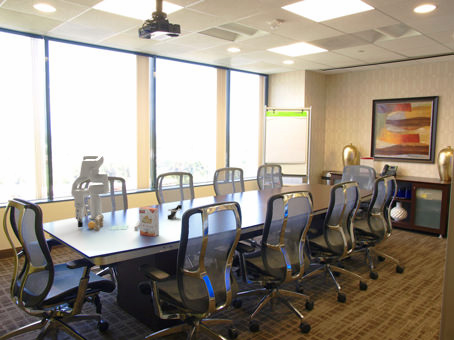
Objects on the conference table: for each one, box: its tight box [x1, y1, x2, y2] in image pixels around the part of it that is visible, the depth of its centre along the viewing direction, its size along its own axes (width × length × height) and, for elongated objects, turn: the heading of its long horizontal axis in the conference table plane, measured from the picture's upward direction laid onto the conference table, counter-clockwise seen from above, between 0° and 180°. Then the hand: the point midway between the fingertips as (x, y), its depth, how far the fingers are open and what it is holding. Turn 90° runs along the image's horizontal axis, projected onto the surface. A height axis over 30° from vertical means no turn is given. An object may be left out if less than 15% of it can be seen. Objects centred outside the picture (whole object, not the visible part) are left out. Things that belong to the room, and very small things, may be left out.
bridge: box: [94, 214, 104, 232], centre depth 300 cm, size 3×15×10 cm, turn 6°
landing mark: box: [109, 224, 129, 231], centre depth 302 cm, size 13×13×1 cm
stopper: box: [134, 220, 140, 231], centre depth 303 cm, size 20×2×3 cm, turn 6°
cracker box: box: [138, 206, 160, 237], centre depth 279 cm, size 14×6×21 cm, turn 66°
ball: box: [87, 221, 95, 230], centre depth 299 cm, size 6×6×6 cm
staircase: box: [167, 204, 183, 220], centre depth 336 cm, size 9×10×12 cm
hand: (80, 227), depth 299 cm, fingers closed
